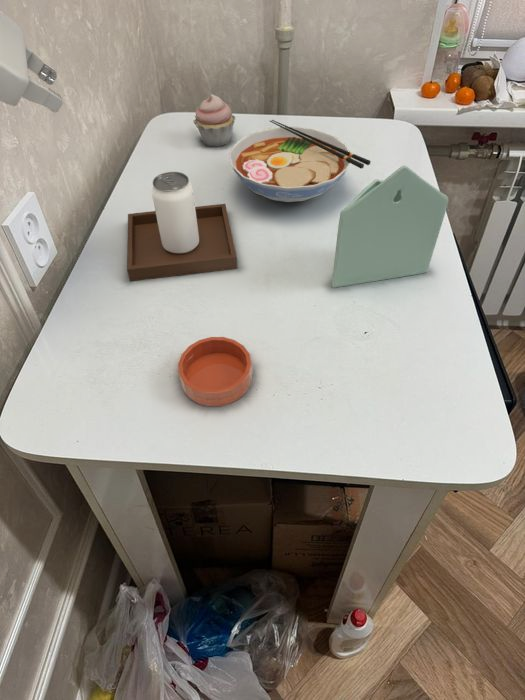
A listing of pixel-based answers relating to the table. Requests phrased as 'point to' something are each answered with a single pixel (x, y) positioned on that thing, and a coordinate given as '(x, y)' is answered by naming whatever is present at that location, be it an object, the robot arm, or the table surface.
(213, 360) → the bowl
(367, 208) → the planter
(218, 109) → the cupcake
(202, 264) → the tray
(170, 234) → the can
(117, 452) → the table surface
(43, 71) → the robot arm
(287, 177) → the ramen bowl
